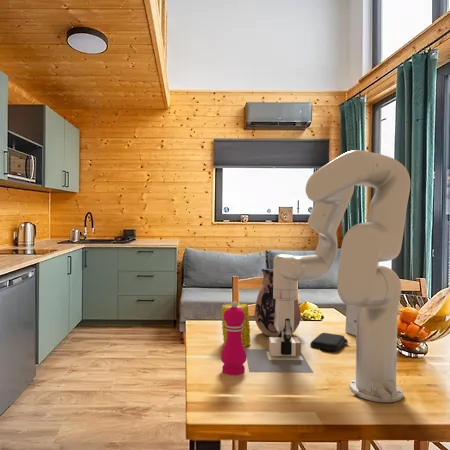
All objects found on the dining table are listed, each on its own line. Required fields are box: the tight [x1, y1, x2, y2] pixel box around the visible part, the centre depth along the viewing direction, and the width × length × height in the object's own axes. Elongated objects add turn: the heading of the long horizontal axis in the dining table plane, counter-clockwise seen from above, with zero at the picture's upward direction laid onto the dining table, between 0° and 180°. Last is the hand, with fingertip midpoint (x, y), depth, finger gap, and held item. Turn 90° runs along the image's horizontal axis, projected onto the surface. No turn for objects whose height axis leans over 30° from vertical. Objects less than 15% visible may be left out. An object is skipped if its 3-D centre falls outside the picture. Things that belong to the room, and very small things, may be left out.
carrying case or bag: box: [309, 332, 349, 353], centre depth 135 cm, size 11×3×15 cm
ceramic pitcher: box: [253, 267, 302, 337], centre depth 149 cm, size 18×21×25 cm
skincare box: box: [345, 305, 359, 337], centre depth 150 cm, size 6×4×12 cm
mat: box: [244, 348, 314, 374], centre depth 118 cm, size 20×18×1 cm
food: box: [221, 303, 251, 348], centre depth 134 cm, size 15×12×10 cm
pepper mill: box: [220, 301, 247, 376], centre depth 109 cm, size 7×7×20 cm
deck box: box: [268, 336, 302, 356], centre depth 122 cm, size 9×6×4 cm
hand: (284, 350), depth 122 cm, fingers closed on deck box, 5 cm apart
